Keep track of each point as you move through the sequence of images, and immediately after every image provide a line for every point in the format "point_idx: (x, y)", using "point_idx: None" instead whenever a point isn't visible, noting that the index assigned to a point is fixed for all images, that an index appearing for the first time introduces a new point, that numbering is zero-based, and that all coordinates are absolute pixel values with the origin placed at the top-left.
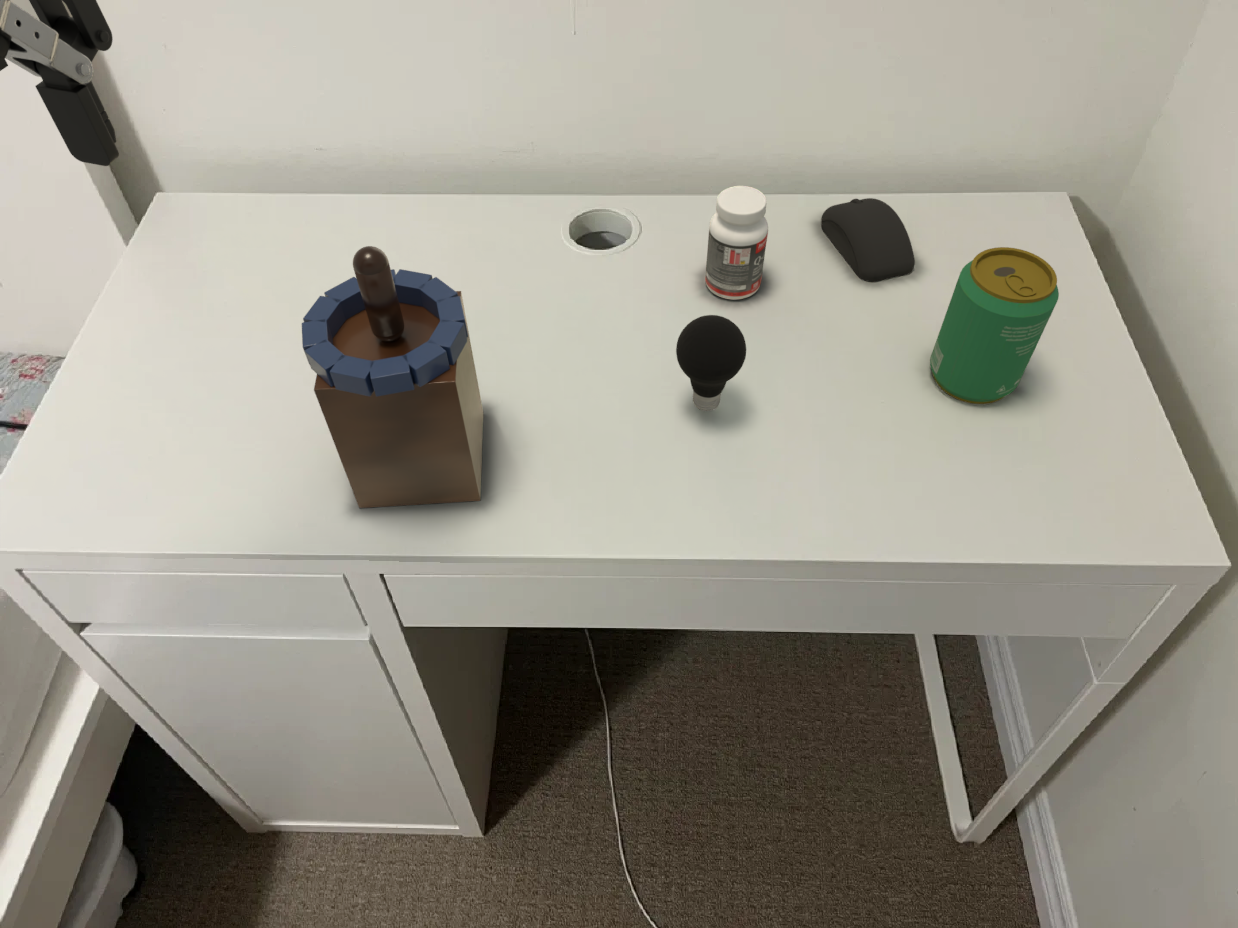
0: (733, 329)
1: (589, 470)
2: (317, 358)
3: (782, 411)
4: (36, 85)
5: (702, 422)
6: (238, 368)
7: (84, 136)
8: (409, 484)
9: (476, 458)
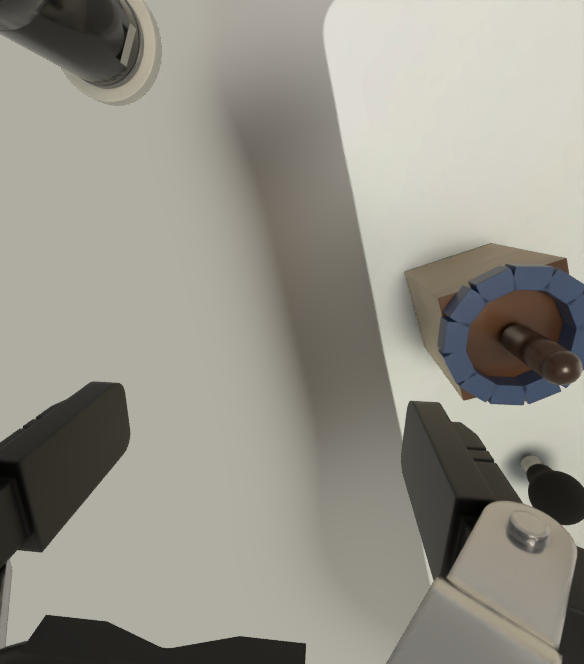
0: (570, 524)
1: (461, 403)
2: (462, 304)
3: (527, 499)
4: (458, 499)
5: (512, 458)
6: (543, 90)
7: (414, 476)
8: (419, 313)
9: None
